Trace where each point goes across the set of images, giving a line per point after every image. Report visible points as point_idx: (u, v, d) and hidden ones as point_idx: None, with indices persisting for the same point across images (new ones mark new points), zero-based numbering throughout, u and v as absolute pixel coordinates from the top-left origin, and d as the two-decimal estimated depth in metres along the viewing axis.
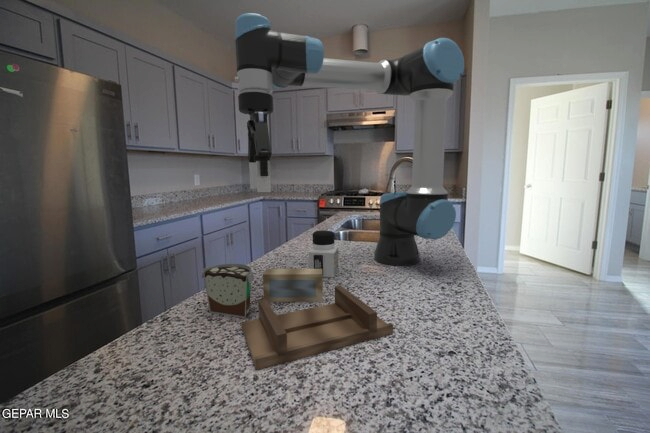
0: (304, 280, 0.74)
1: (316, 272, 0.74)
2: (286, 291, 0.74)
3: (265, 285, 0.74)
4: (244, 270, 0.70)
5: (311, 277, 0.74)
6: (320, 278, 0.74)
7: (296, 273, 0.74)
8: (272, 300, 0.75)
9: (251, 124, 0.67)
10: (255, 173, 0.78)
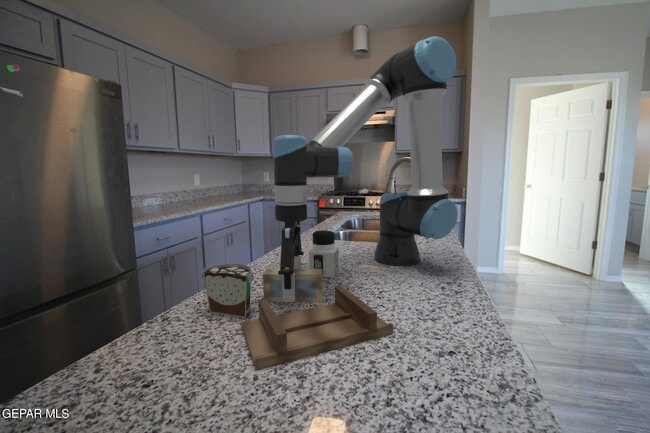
0: (304, 280, 0.74)
1: (316, 272, 0.74)
2: None
3: (265, 285, 0.74)
4: (244, 270, 0.70)
5: (310, 277, 0.74)
6: (320, 278, 0.74)
7: (296, 273, 0.74)
8: (272, 300, 0.75)
9: None
10: (295, 266, 0.82)
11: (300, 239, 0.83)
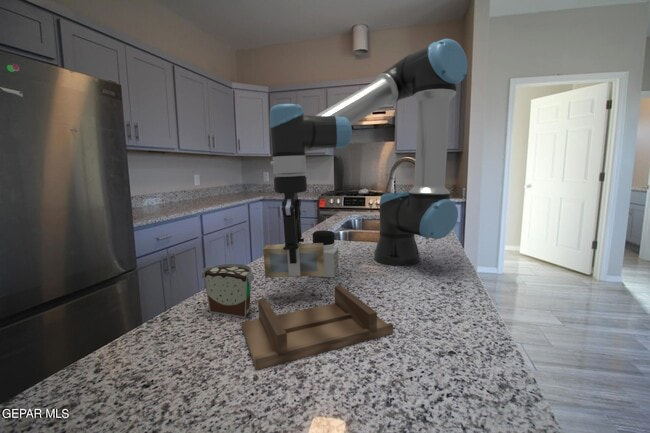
0: (305, 254, 0.73)
1: (317, 246, 0.74)
2: (287, 265, 0.73)
3: (266, 260, 0.74)
4: (244, 270, 0.70)
5: (311, 251, 0.73)
6: (321, 251, 0.73)
7: None
8: (273, 275, 0.74)
9: None
10: None
11: (300, 223, 0.80)
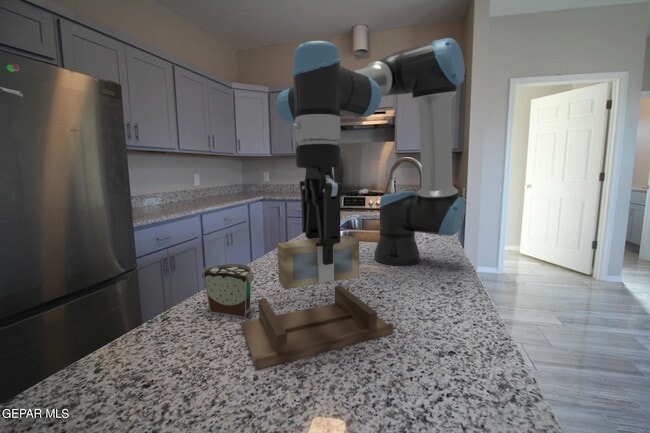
0: (339, 250, 0.55)
1: (349, 239, 0.56)
2: (316, 268, 0.53)
3: (287, 264, 0.51)
4: (244, 270, 0.70)
5: (346, 245, 0.55)
6: (357, 245, 0.56)
7: None
8: (296, 284, 0.52)
9: (315, 188, 0.51)
10: None
11: None
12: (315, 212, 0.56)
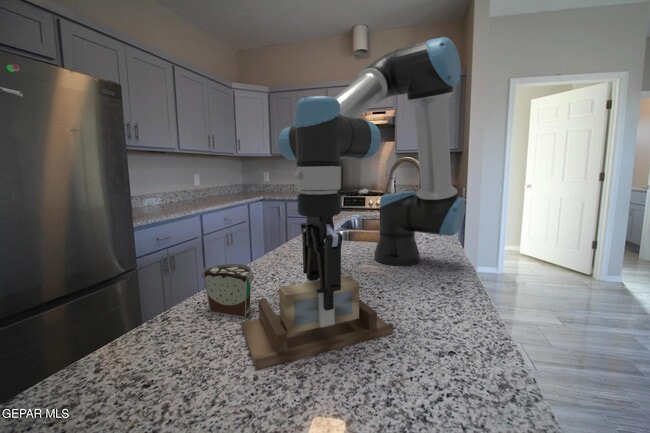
0: (339, 294, 0.56)
1: (349, 281, 0.58)
2: (317, 313, 0.54)
3: (289, 310, 0.52)
4: (244, 270, 0.70)
5: (346, 289, 0.56)
6: (357, 288, 0.57)
7: None
8: (298, 329, 0.54)
9: (316, 236, 0.53)
10: None
11: None
12: (316, 255, 0.57)
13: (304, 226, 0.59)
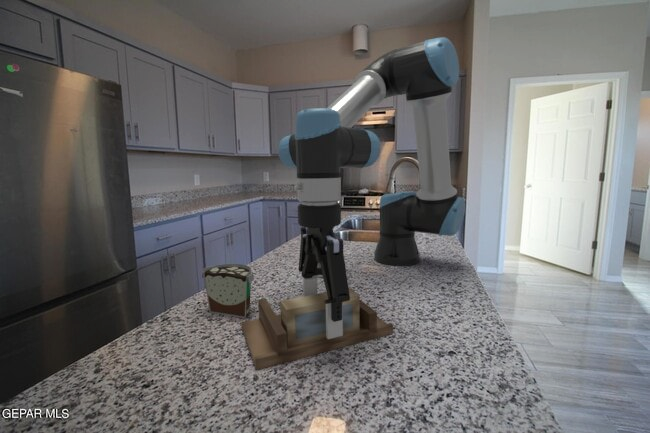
0: None
1: (350, 294, 0.58)
2: (317, 326, 0.55)
3: (290, 324, 0.53)
4: (244, 270, 0.70)
5: (347, 302, 0.57)
6: (358, 301, 0.58)
7: None
8: (299, 343, 0.54)
9: (317, 245, 0.53)
10: (311, 292, 0.62)
11: None
12: (313, 260, 0.59)
13: (304, 231, 0.60)
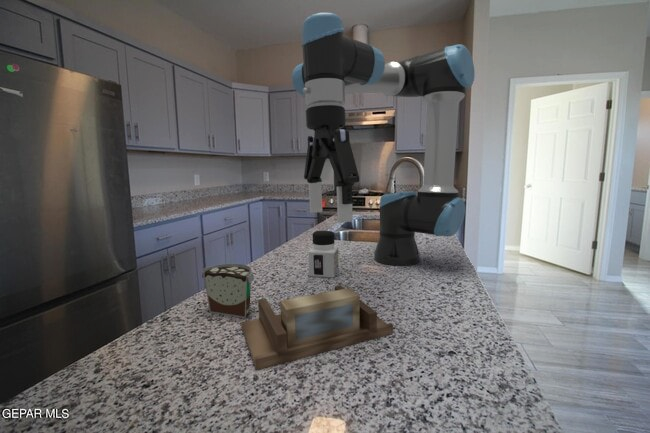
0: (340, 307, 0.56)
1: (350, 294, 0.58)
2: (317, 326, 0.55)
3: (290, 324, 0.53)
4: (244, 270, 0.70)
5: (347, 302, 0.57)
6: (358, 301, 0.58)
7: (328, 300, 0.56)
8: (299, 343, 0.54)
9: (324, 143, 0.58)
10: (316, 195, 0.68)
11: None
12: (318, 165, 0.65)
13: (311, 139, 0.65)
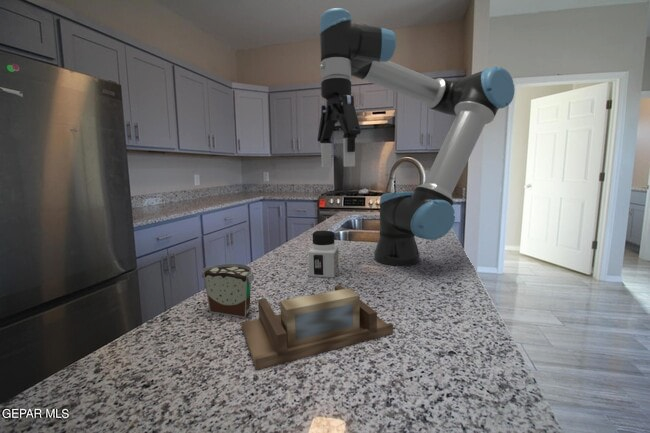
0: (340, 307, 0.56)
1: (350, 294, 0.58)
2: (317, 326, 0.55)
3: (290, 324, 0.53)
4: (244, 270, 0.70)
5: (347, 302, 0.57)
6: (358, 301, 0.58)
7: (328, 300, 0.56)
8: (299, 343, 0.54)
9: (335, 107, 0.76)
10: (326, 153, 0.86)
11: None
12: (329, 128, 0.83)
13: (324, 108, 0.83)
